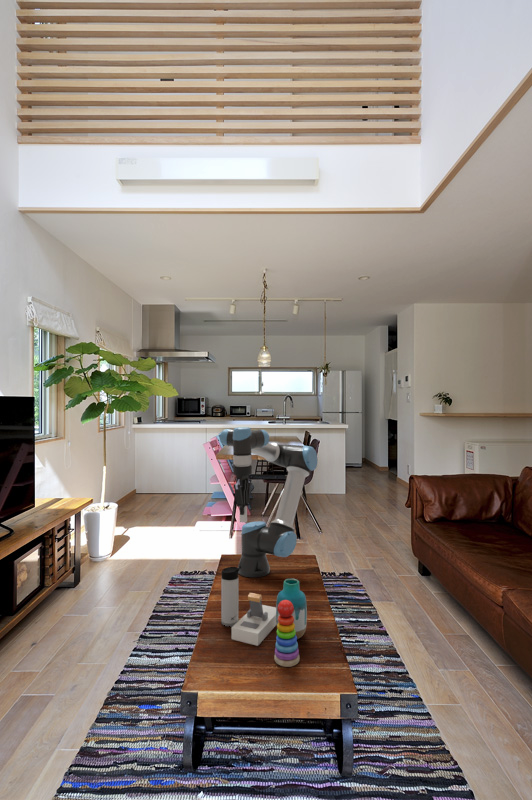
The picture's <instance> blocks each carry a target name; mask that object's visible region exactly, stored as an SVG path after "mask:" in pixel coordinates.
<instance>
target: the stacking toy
mask: <svg viewBox="0 0 532 800" xmlns="http://www.w3.org/2000/svg"><path fill="white" fill-rule="evenodd" d="M293 611H294V607H293V604H292V603H291V602H290V601H288V600H283V601H281V602H280V603H279V605H278V613H279V614H280V616H279V617H278V622H279V623H278V625H276V636H275V637H276V639H275V640H276V642H275V648H274V656H273V657H274V662H275V663H276V664H277V665H279V666H280V667H284V668H291V667H294V666H296V665H297V664H299V662H300V659H301V658H300V652H299V644H298V641H297V640H298V639H297V636H296V635H295V634H296V631H295V629H294V628H295V624H294V623H293V622H294V617H293V616H292V614H293ZM277 628H278V629H277Z"/></svg>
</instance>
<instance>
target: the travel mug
mask: <svg viewBox="0 0 532 800" xmlns="http://www.w3.org/2000/svg"><path fill="white" fill-rule="evenodd" d="M238 571H239V568H238V566H229V567H225V568H223V569H222V570H221V576H220V577H221V578H220V579H221V580H220V581H221V584H220V585H221V594H220V595H221V597H220V598H221V601H220V602H221V603H220V604H221V607H220V608H221V611H220V612H221V615H220V617H221V625H223V626H224V625H225V627H229V626H230V627H233V626H234V625H235V624H236V623H237V622H238V621H239V578H240V577H239V573H238Z"/></svg>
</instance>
